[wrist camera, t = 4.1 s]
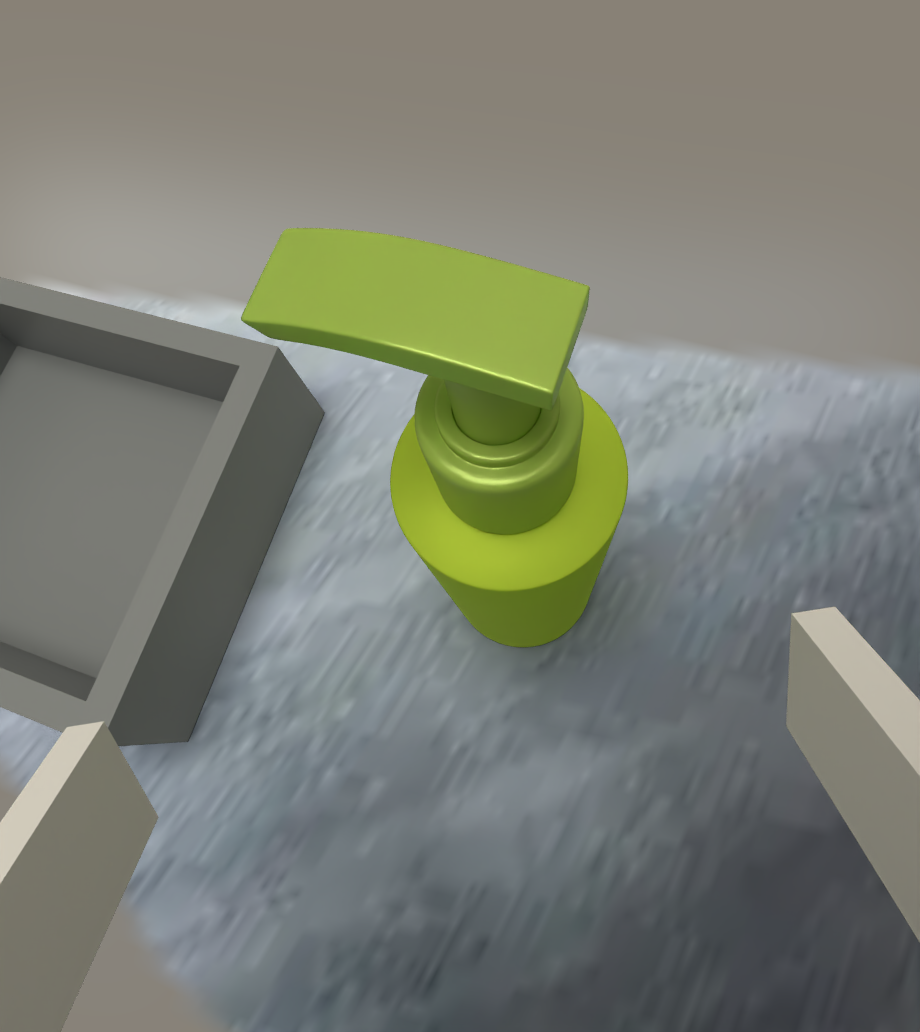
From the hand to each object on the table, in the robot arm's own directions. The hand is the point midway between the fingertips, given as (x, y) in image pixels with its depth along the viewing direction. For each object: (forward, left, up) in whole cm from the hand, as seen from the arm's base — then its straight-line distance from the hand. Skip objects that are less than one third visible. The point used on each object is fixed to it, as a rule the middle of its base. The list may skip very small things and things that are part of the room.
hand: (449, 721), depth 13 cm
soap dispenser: (+1, -6, -15) cm, 17 cm away
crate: (+21, -3, -15) cm, 26 cm away
